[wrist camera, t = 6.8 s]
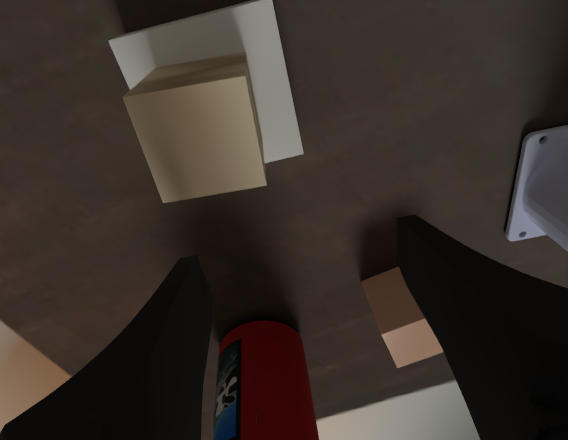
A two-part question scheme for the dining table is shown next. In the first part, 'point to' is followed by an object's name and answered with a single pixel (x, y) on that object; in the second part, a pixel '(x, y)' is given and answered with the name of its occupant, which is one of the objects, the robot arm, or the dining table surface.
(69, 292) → the dining table surface
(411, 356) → the terracotta block
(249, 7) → the grey slab
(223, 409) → the beverage can
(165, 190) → the maple block
